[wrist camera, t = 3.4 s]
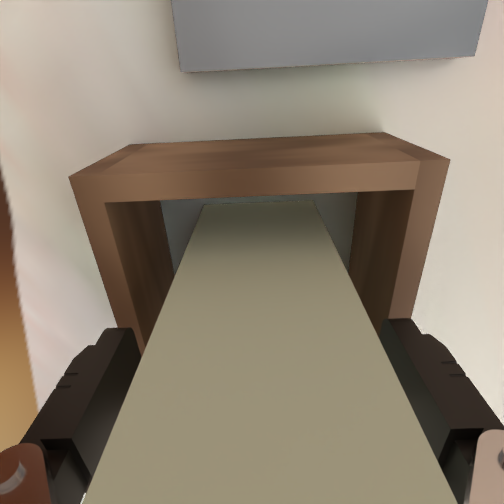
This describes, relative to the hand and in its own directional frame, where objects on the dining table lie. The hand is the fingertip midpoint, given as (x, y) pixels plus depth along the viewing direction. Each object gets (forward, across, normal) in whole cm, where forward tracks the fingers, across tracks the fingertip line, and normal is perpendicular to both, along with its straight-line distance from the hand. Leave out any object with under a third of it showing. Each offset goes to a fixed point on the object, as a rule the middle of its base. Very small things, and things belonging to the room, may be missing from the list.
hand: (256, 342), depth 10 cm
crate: (+6, 0, 0) cm, 6 cm away
